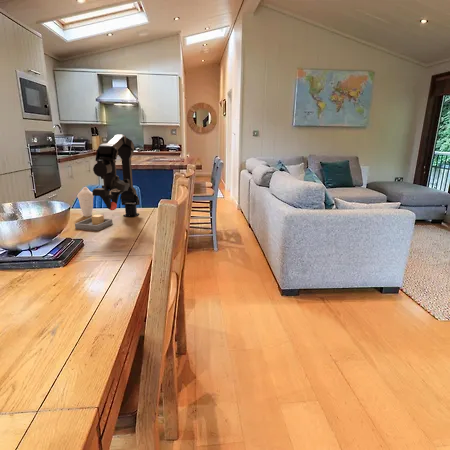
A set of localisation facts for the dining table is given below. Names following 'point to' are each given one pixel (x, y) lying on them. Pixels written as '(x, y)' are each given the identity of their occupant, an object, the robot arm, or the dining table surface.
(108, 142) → the robot arm
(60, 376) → the dining table surface
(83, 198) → the soft serve ice cream cone
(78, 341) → the dining table surface
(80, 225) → the dish
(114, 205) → the tomato
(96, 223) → the block
